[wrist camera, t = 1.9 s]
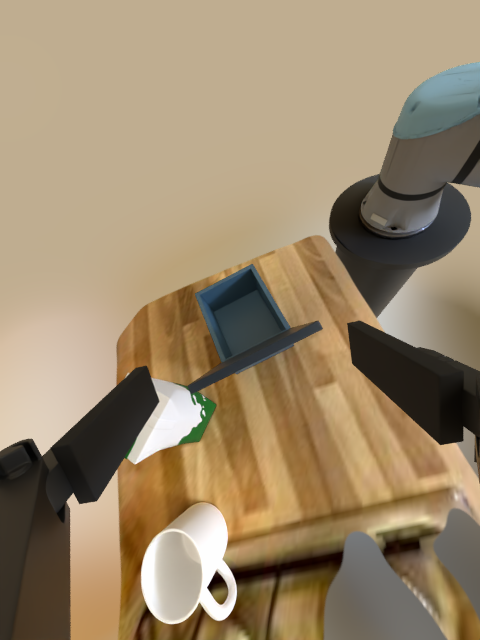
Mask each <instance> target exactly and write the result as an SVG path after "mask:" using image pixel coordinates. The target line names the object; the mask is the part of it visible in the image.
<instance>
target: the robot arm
mask: <svg viewBox="0 0 480 640" xmlns="http://www.w3.org/2000/svg"><path fill="white" fill-rule="evenodd" d="M447 182H449V183H456V184H463V185H468V186H474V187H480V62H477V63H471V64H466V65H461V66H457V67H455V68H451V69H448V70H446V71H443V72H441V73H439V74H437V75H436V76H433V77H431V78H429V79H428V80H426V81H425V82H423V83H422V84H421V85H419V86H418V87H417V88H416V89H415V90H414V91H413V92H412V93H411V94H410V95H409V97H408V98H407V100H406V102H405V104H404V106H403V108H402V111H401V113H400V116H399V118H398V121H397V122H396V124H395V126H394V129H393V135H392V138H391V141H390V144H389V148H388V151H387V154H386V157H385V160H384V163H383V166H382V169H381V172H380V175H379V178H378V180H377V181H376V183H375V184H374V185H373V187H372V188H371V190H370V191H369V192H368V194H367V195H366V196H365V198H364V199H363V201H362V203H361V206H360V209H359V213H358V218H359V222H360V224H361V226H362V227H363V228H364V229H365V230H366V231H367V232H369V233H370V234H372V235H374V236H376V237H379V238H383V239H388V240H402V239H408V238H412V237H415V236H417V235H419V234H421V233H423V232H424V231H426V230H427V229H428V228H429V227H430V225H431V224H432V223H433V221H434V220H435V218H436V216H437V214H438V211H439V204H440V201H441V196H442V192H443V188H444V187H445V185H446V183H447ZM347 325H348V333H349V341H350V349H351V357H352V364H353V365H354V366H355V367H356V368H358V369H359V370H360V371H361V372H362V373H363V374H364V375H365V376H366V377H367V378H368V379H369V380H371V381H372V382H373V383H374V384H375V385H376V386H377V387H378V388H379V389H380V390H381V391H382V392H384V393H385V394H386V395H387V396H388V397H389V398H390V399H391V400H392V401H393V402H394V403H395V404H397V405H398V406H399V407H400V408H401V409H402V410H403V411H404V412H405V413H406V414H407V415H408V416H410V417H411V418H412V419H413V420H414V421H415V422H416V423H417V424H418V425H419V426H420V427H421V428H423V429H424V430H425V431H426V432H427V433H428V434H429V435H430V436H431V437H432V438H433V439H434V440H436V441H437V442H438V443H439V444H440V445H444V444H450V443H456V442H462V441H463V426H464V427H465V428H467V429H468V430H469V431H471V432H472V433H473V434H475V461H474V462H477V466H478V474H479V482H480V371H478V370H476V369H473V368H471V367H469V366H467V365H464V364H462V363H460V362H458V361H454V360H453V359H451V358H449V357H447V356H446V357H445V356H444V355H442V354H440V353H438V352H436V351H434V350H429V349H425V348H421V347H419V348H415V347H413V346H411V345H409V344H407V343H405V342H403V341H401V340H399V339H397V338H395V337H393V336H391V335H388V334H386V333H384V332H382V331H380V330H378V329H376V328H374V327H372V326H370V325H368V324H366V323H364V322H362V321H356V322H351V323H347ZM159 402H160V401H159V398H158V395H157V393H156V390H155V387H154V384H153V382H152V379H151V376H150V373H149V370H148V368H147V366H143V367H138V368H135V369H134V370H133V371H132V372H131V373H130V374H129V375H128V376H127V377H126V378H125V379H124V380H122V381H121V382H120V383H119V384H118V385H117V386H116V387H115V388H114V389H113V390H112V391H111V392H110V393H109V394H108V395H106V396H105V397H104V398H103V399H102V400H101V401H100V402H99V403H98V404H97V405H96V406H95V407H94V408H93V409H92V410H90V411H89V412H88V413H87V414H86V415H85V416H84V417H83V418H82V419H81V420H80V421H79V422H78V423H77V424H76V425H75V426H73V427H72V428H71V429H70V430H69V431H68V432H67V433H66V434H65V435H64V436H63V437H62V438H61V439H60V440H58V442H56V443H55V444H54V445H53V446H52V447H51V448H50V450H48V451H47V452H46V454H44V455H43V456H41V454H40V452H39V450H38V448H37V446H36V445H35V443H34V441H33V439H26V440H22V441H19V442H17V443H15V444H13V445H11V446H9V447H7V448H5V449H3V450H2V451H0V640H70V508H69V506H68V504H67V502H66V501H67V500H68V498H69V497H70V496H71V495H72V494H73V493H74V495H75V497H76V498H77V500H78V502H79V504H83V503H88V502H95V501H97V500H98V499H99V497H100V496H101V494H102V492H103V491H104V489H105V488H106V486H107V484H108V483H109V481H110V480H111V478H112V476H113V475H114V473H115V471H116V470H117V469H118V467H119V465H120V464H121V462H122V461H123V459H124V457H125V456H126V454H127V453H128V451H129V449H130V448H131V446H132V445H133V443H134V442H135V440H136V438H137V437H138V435H139V434H140V432H141V430H142V429H143V427H144V426H145V424H146V422H147V421H148V419H149V418H150V416H151V415H152V413H153V411H154V410H155V408H156V407H157V405H158V403H159Z"/></svg>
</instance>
